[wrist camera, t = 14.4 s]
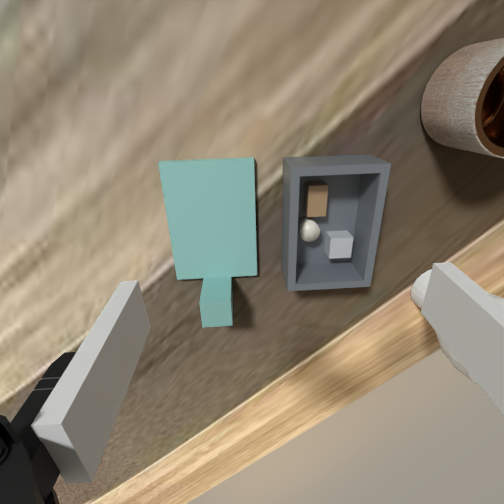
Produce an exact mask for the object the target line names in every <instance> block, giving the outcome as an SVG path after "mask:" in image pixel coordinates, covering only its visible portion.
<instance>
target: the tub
mask: <svg viewBox="0 0 504 504" xmlns="http://www.w3.org/2000/svg"><path fill="white" fill-rule="evenodd" d="M390 167H391V163H389V162H387V161H385V160H382V159H380V158H378V157H375V156H373V155H371V154H360V155H335V156H310V157H286V158H283V196H282V263H281V269H282V272H283V276H284V280H285V283H286V287H287V291H301V290H319V289H337V288H355V287H370V285H371V279H372V273H373V268H374V262H375V256H376V250H377V244H378V238H379V232H380V226H381V220H382V214H383V209H384V203H385V197H386V191H387V185H388V179H389V173H390Z"/></svg>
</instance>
